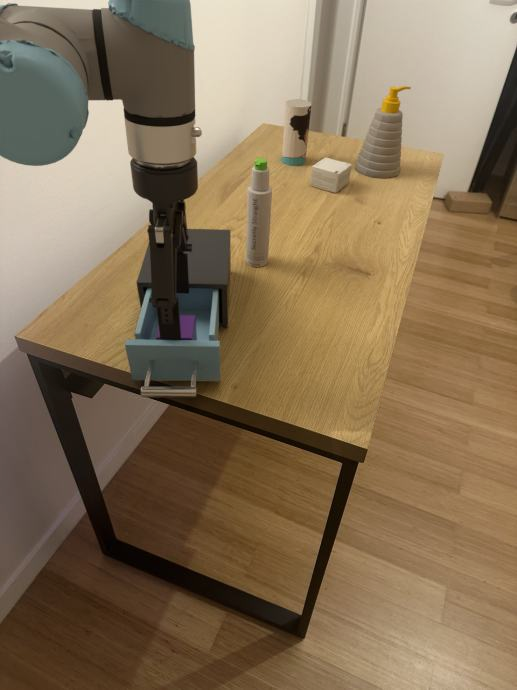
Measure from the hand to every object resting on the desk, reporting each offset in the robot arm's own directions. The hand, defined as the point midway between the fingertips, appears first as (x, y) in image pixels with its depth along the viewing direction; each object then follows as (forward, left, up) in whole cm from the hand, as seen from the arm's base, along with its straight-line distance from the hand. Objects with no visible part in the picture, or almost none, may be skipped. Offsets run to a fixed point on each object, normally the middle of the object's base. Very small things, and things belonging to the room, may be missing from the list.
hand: (175, 313), depth 67 cm
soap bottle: (+46, +74, -8) cm, 88 cm away
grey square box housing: (0, +14, -8) cm, 16 cm away
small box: (+32, +63, -8) cm, 71 cm away
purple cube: (0, -2, -6) cm, 6 cm away
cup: (+23, +78, -8) cm, 82 cm away
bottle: (+12, +26, -8) cm, 30 cm away
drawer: (0, -2, -7) cm, 7 cm away
